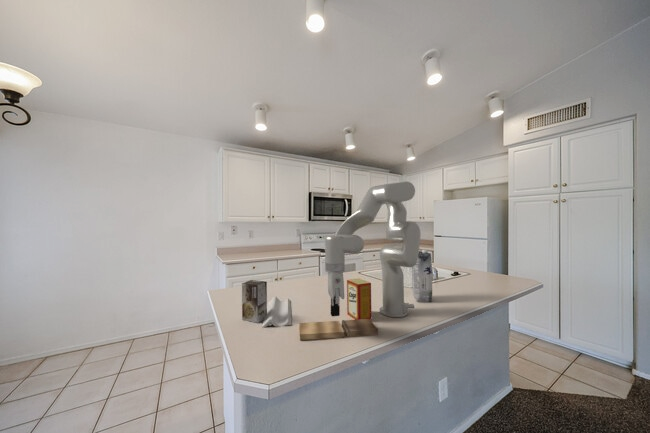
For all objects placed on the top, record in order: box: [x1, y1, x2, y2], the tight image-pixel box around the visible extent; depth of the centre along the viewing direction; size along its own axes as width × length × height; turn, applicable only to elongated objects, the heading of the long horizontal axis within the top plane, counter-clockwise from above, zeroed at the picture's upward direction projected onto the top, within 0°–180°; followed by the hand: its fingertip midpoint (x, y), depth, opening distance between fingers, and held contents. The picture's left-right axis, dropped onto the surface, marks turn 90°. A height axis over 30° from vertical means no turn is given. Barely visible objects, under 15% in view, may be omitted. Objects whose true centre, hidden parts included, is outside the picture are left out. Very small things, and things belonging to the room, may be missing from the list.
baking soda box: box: [346, 278, 373, 320], centre depth 107 cm, size 10×6×16 cm
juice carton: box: [411, 249, 433, 303], centre depth 129 cm, size 9×10×27 cm
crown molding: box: [261, 296, 292, 329], centre depth 113 cm, size 31×12×4 cm, turn 9°
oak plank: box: [298, 320, 345, 341], centre depth 91 cm, size 16×10×2 cm, turn 98°
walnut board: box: [341, 319, 379, 338], centre depth 93 cm, size 12×10×2 cm
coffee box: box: [241, 279, 268, 324], centre depth 105 cm, size 9×6×16 cm
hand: (335, 315), depth 92 cm, fingers closed
